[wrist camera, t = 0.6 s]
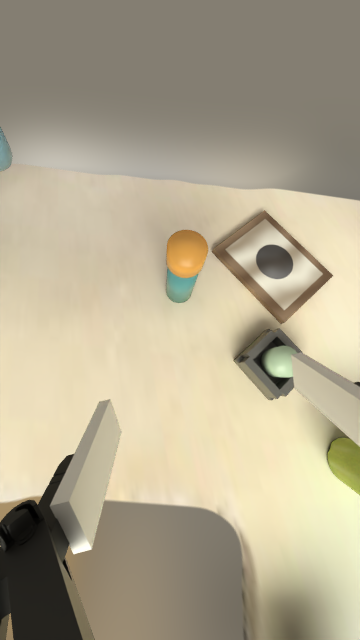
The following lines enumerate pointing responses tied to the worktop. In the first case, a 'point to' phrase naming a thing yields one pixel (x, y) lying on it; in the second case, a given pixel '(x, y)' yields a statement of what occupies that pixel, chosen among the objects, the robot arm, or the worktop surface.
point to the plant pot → (345, 462)
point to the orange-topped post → (184, 263)
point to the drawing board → (272, 266)
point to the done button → (278, 361)
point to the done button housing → (253, 367)
